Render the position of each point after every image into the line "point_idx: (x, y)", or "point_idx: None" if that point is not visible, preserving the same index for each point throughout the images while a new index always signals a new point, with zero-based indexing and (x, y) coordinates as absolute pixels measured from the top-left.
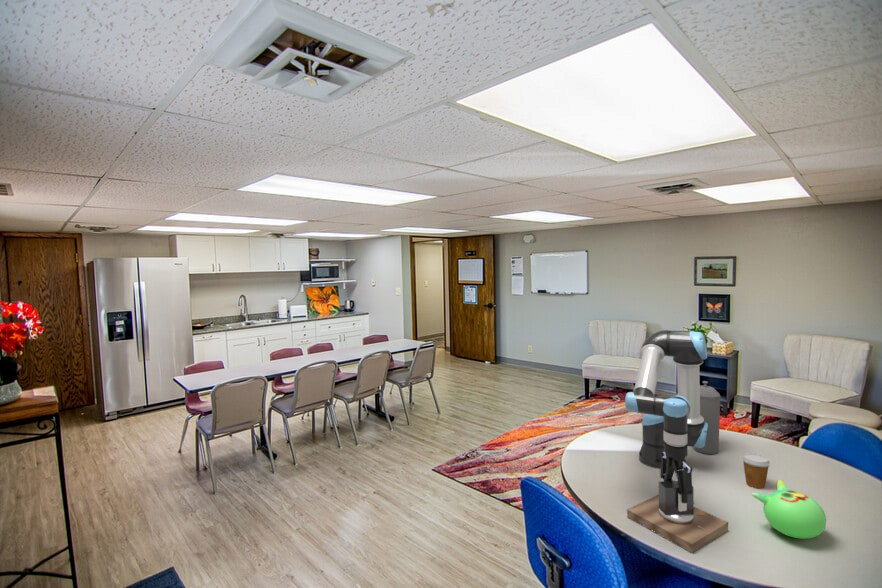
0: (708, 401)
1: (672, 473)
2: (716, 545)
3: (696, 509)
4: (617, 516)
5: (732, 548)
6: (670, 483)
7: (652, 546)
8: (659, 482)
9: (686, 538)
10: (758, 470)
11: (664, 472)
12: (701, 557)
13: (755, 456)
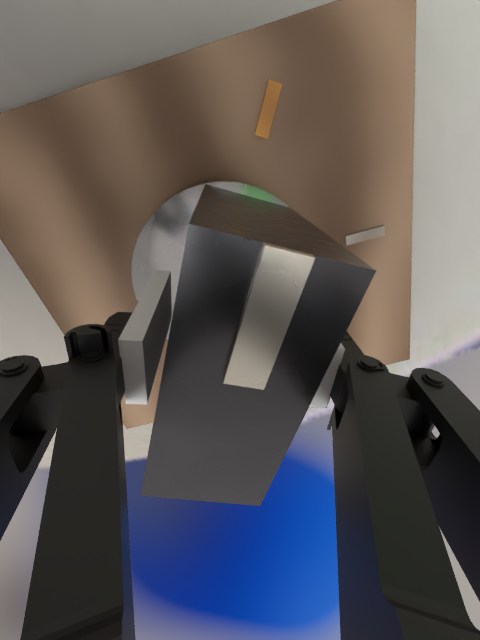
0: None
1: (120, 471)
2: (417, 211)
3: (202, 75)
4: (124, 426)
5: (472, 154)
6: (204, 438)
7: (305, 419)
8: (157, 495)
9: (376, 353)
10: None
11: (15, 471)
12: (421, 326)
13: None
